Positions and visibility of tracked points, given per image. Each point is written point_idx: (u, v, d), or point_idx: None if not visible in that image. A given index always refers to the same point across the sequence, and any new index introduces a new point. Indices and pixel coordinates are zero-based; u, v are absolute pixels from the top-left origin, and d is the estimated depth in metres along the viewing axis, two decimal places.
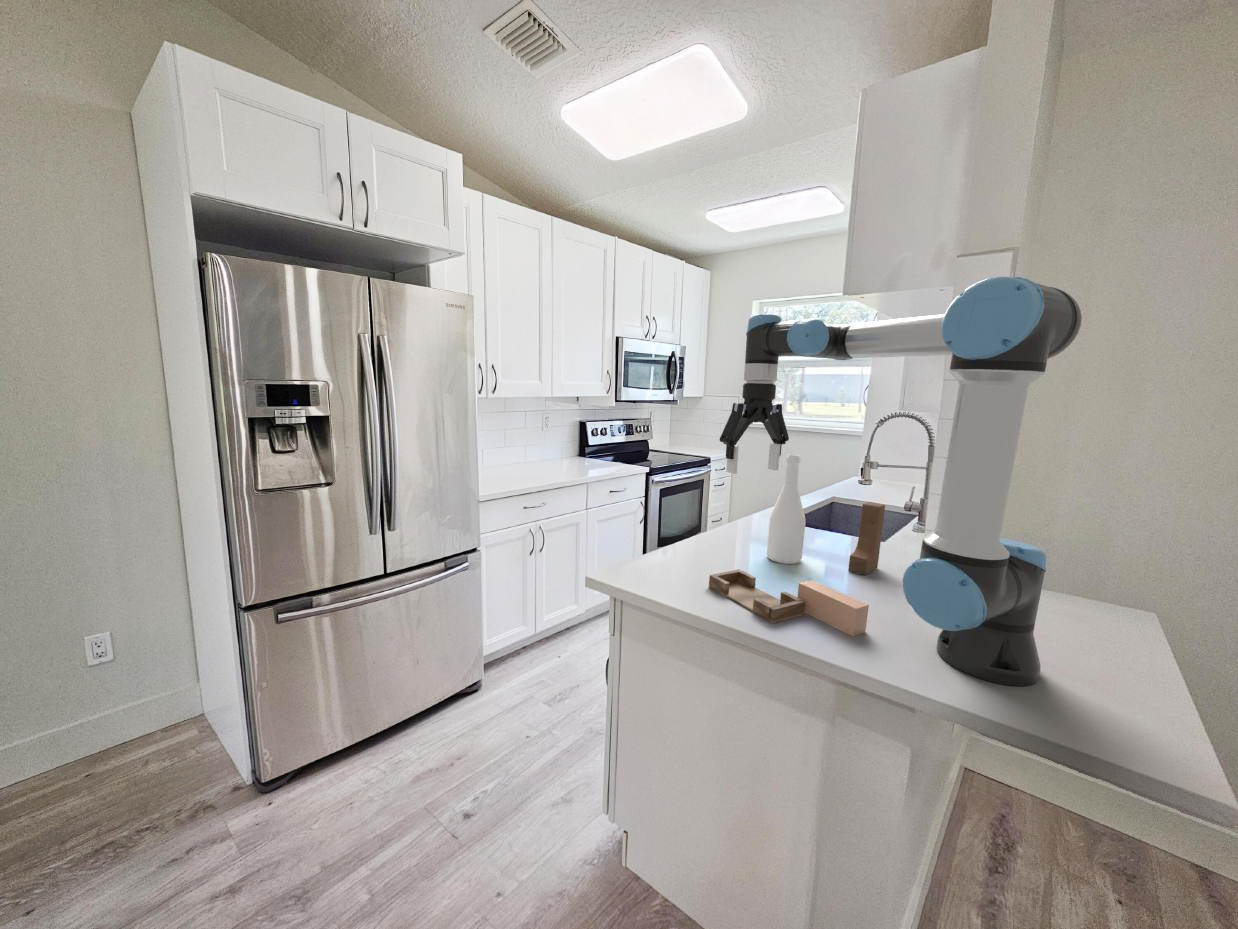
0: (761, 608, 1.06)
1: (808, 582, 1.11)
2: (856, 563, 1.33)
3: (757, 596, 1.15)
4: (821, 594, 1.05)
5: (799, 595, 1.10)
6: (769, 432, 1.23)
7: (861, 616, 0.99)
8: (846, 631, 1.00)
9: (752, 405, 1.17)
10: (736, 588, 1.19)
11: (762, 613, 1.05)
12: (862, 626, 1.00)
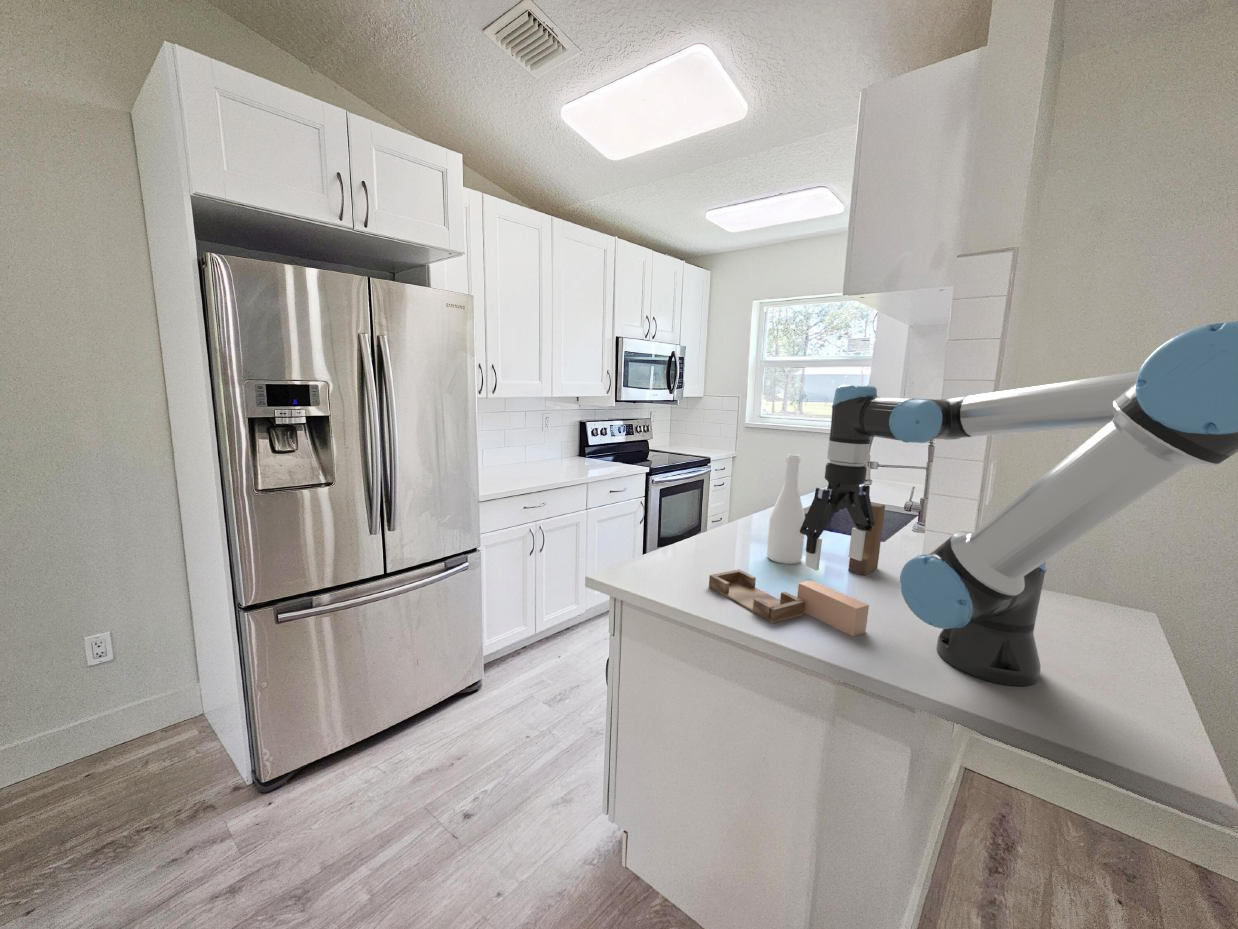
0: (761, 608, 1.06)
1: (808, 582, 1.11)
2: (856, 563, 1.33)
3: (757, 596, 1.15)
4: (821, 594, 1.05)
5: (799, 595, 1.10)
6: (853, 516, 1.06)
7: (861, 616, 1.00)
8: (846, 631, 1.00)
9: (838, 490, 0.99)
10: (736, 588, 1.19)
11: (762, 613, 1.05)
12: (862, 626, 1.00)
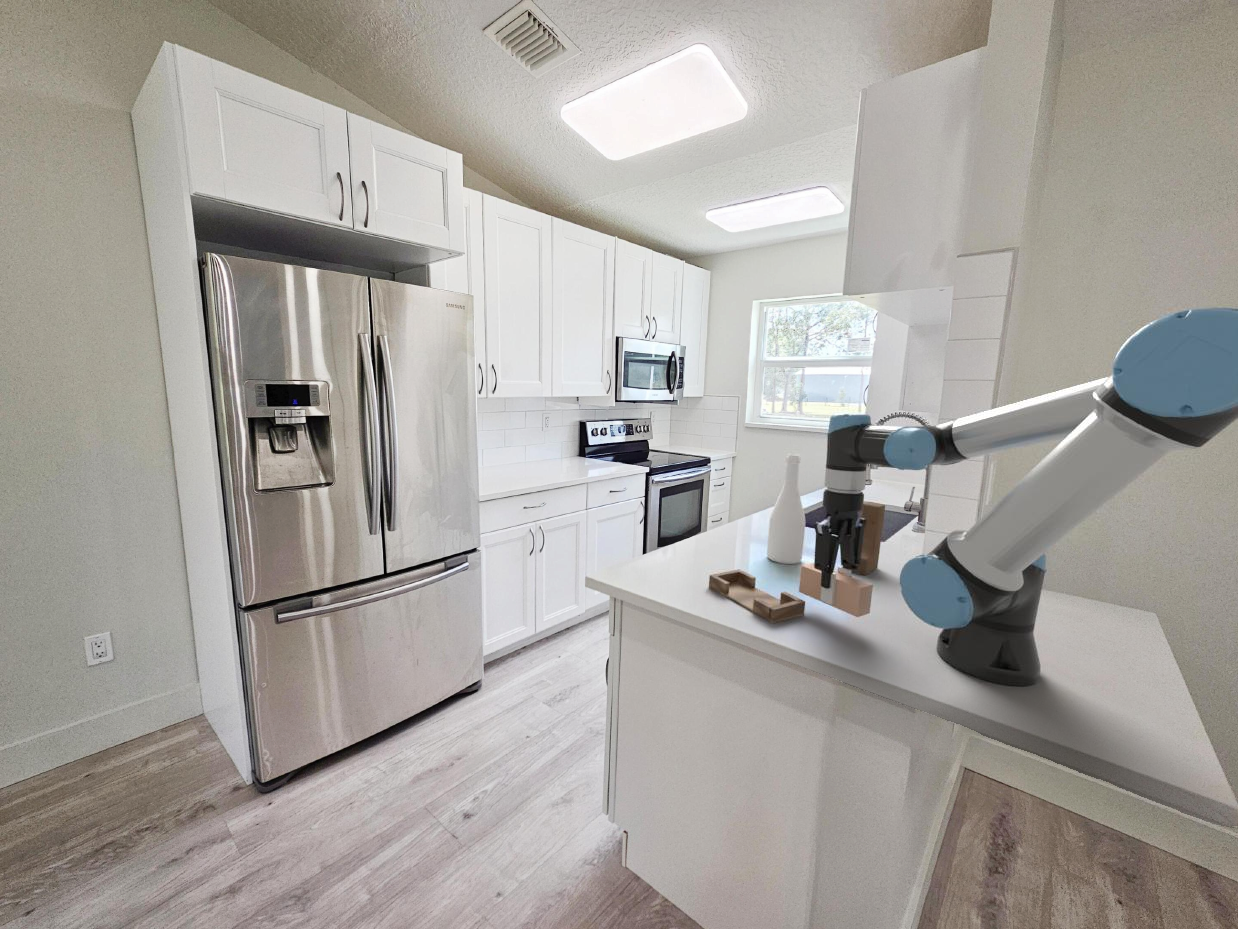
0: (761, 608, 1.06)
1: (810, 565, 1.10)
2: None
3: (757, 596, 1.15)
4: None
5: (801, 578, 1.09)
6: (842, 550, 1.05)
7: (865, 596, 0.99)
8: (851, 611, 0.99)
9: (836, 517, 1.00)
10: (736, 588, 1.19)
11: (762, 613, 1.05)
12: (866, 606, 0.99)
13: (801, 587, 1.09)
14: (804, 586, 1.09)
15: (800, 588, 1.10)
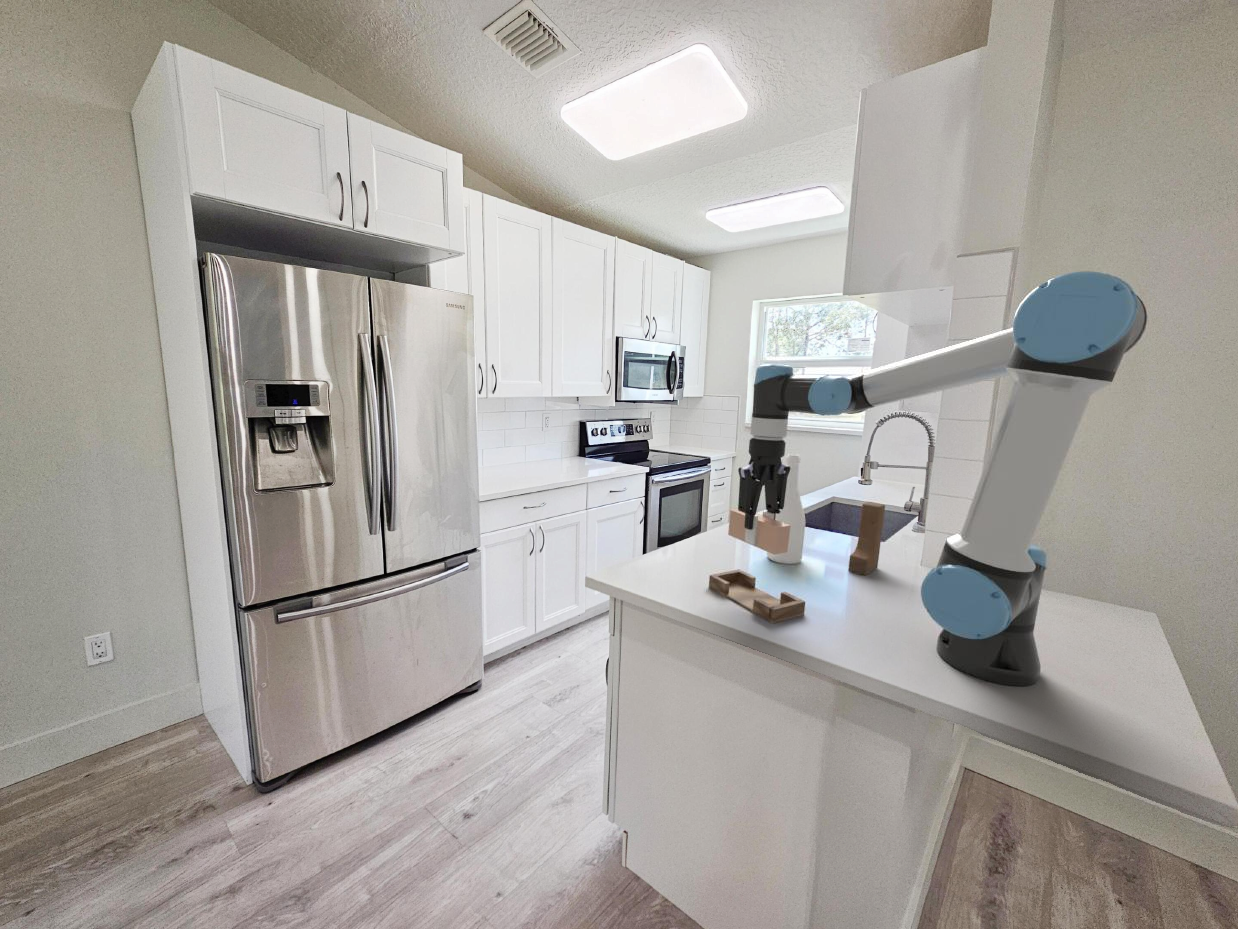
0: (761, 608, 1.06)
1: None
2: (856, 563, 1.33)
3: (757, 596, 1.15)
4: None
5: (730, 521, 1.16)
6: (767, 495, 1.12)
7: (783, 535, 1.06)
8: (769, 550, 1.07)
9: (758, 463, 1.07)
10: (736, 588, 1.19)
11: (762, 613, 1.05)
12: (784, 545, 1.07)
13: (730, 530, 1.17)
14: (732, 529, 1.16)
15: (729, 531, 1.17)
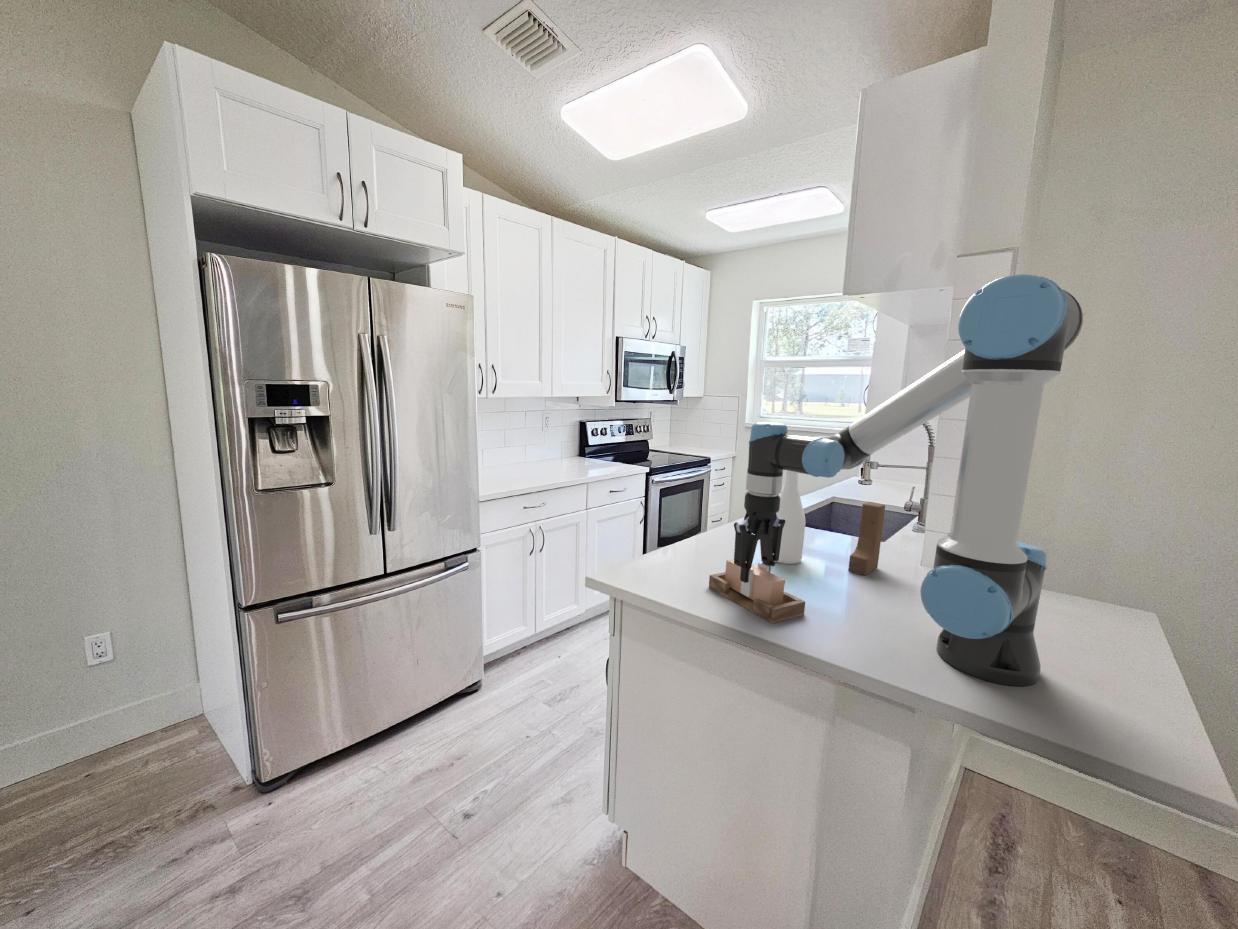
0: (761, 608, 1.06)
1: None
2: (856, 563, 1.33)
3: None
4: None
5: (726, 571, 1.18)
6: (762, 548, 1.14)
7: (777, 590, 1.08)
8: None
9: (754, 518, 1.09)
10: None
11: (762, 613, 1.05)
12: (779, 599, 1.09)
13: (726, 579, 1.19)
14: (728, 579, 1.18)
15: None
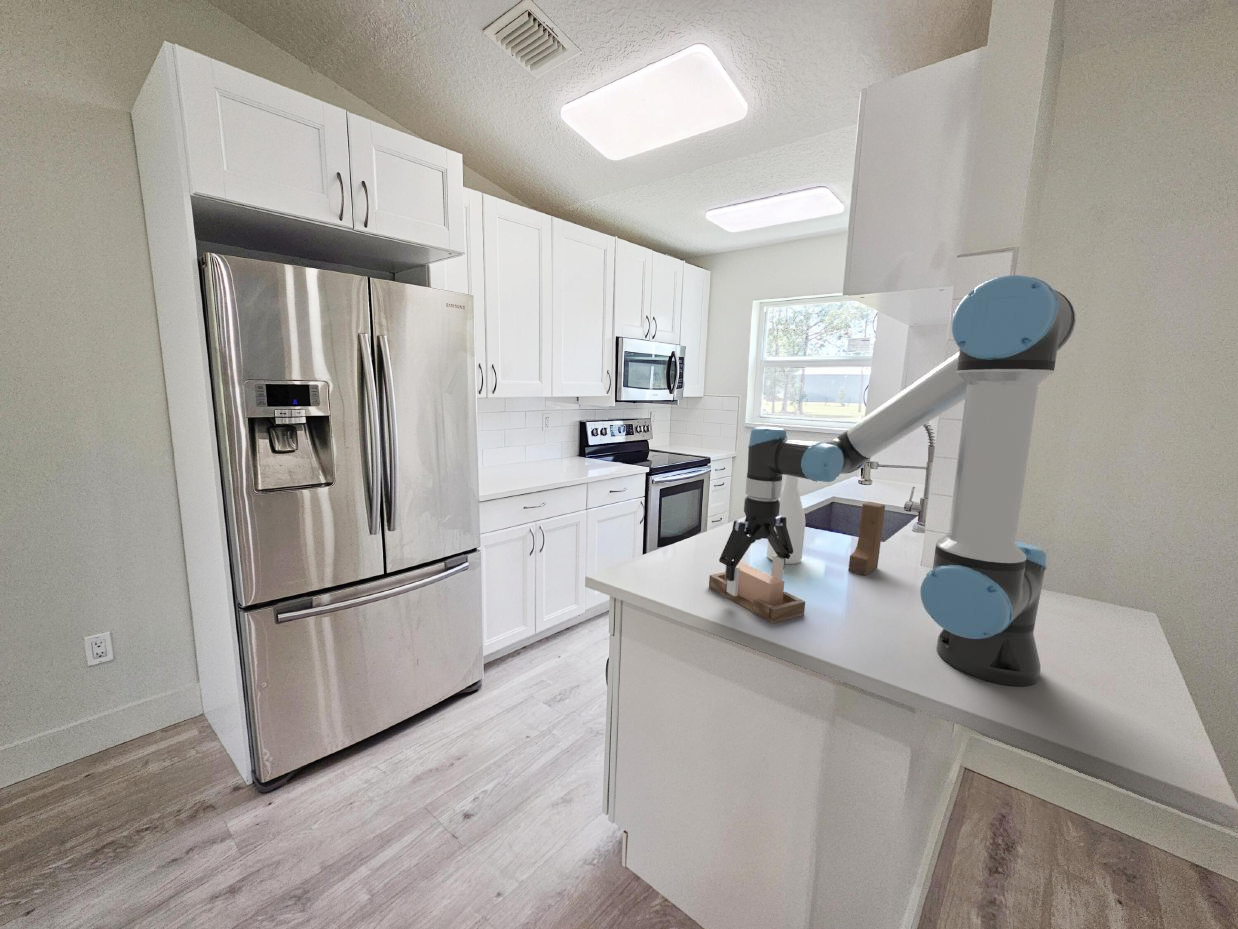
0: (761, 608, 1.06)
1: None
2: (856, 563, 1.33)
3: None
4: (744, 573, 1.14)
5: None
6: (772, 545, 1.15)
7: (777, 591, 1.08)
8: None
9: (754, 523, 1.09)
10: None
11: (762, 613, 1.05)
12: (778, 601, 1.09)
13: None
14: None
15: None
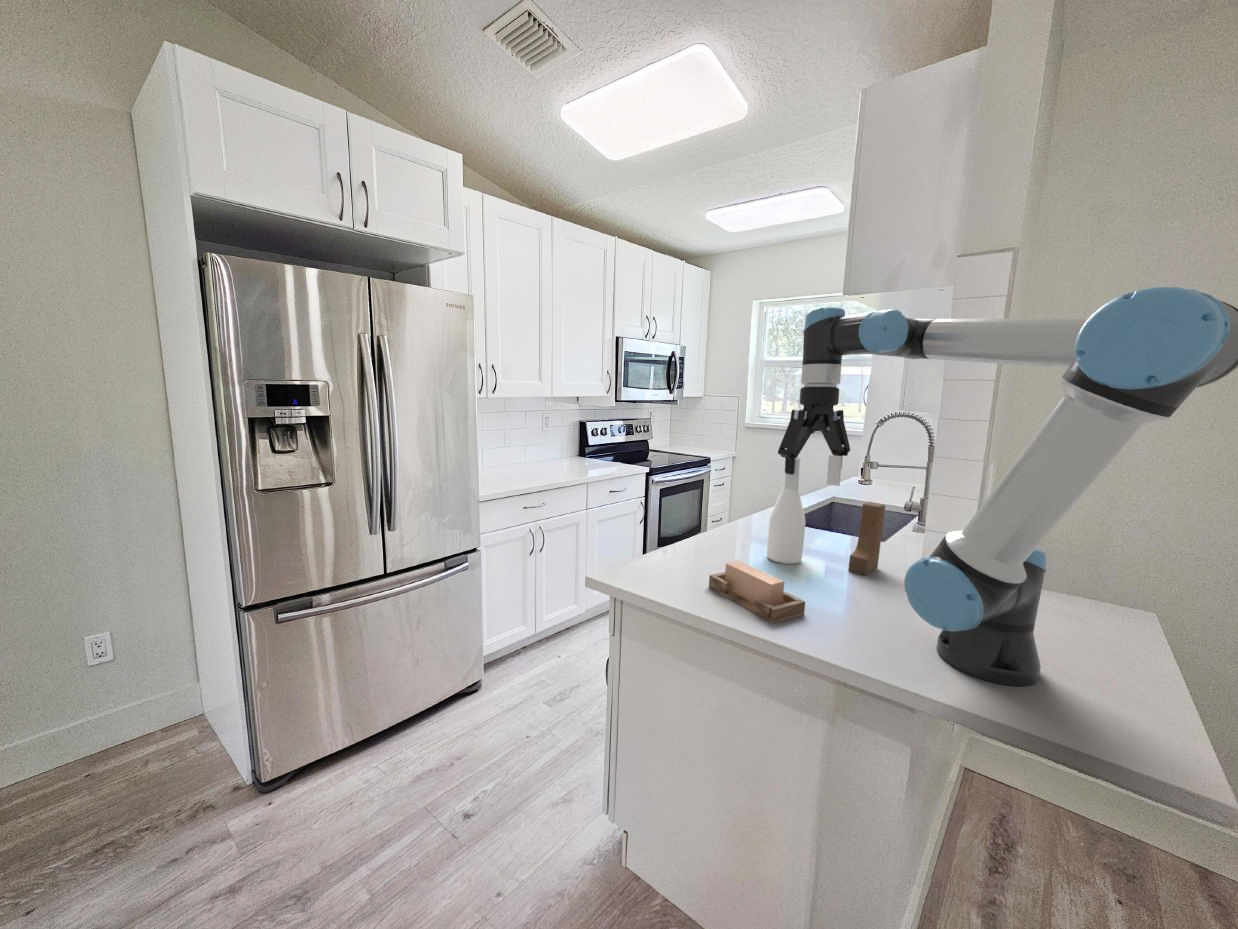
0: (761, 608, 1.06)
1: (735, 562, 1.19)
2: (856, 563, 1.33)
3: None
4: (744, 573, 1.14)
5: (726, 575, 1.19)
6: (829, 442, 1.08)
7: (777, 591, 1.08)
8: None
9: (813, 412, 1.02)
10: None
11: (762, 613, 1.05)
12: (778, 601, 1.09)
13: None
14: None
15: None
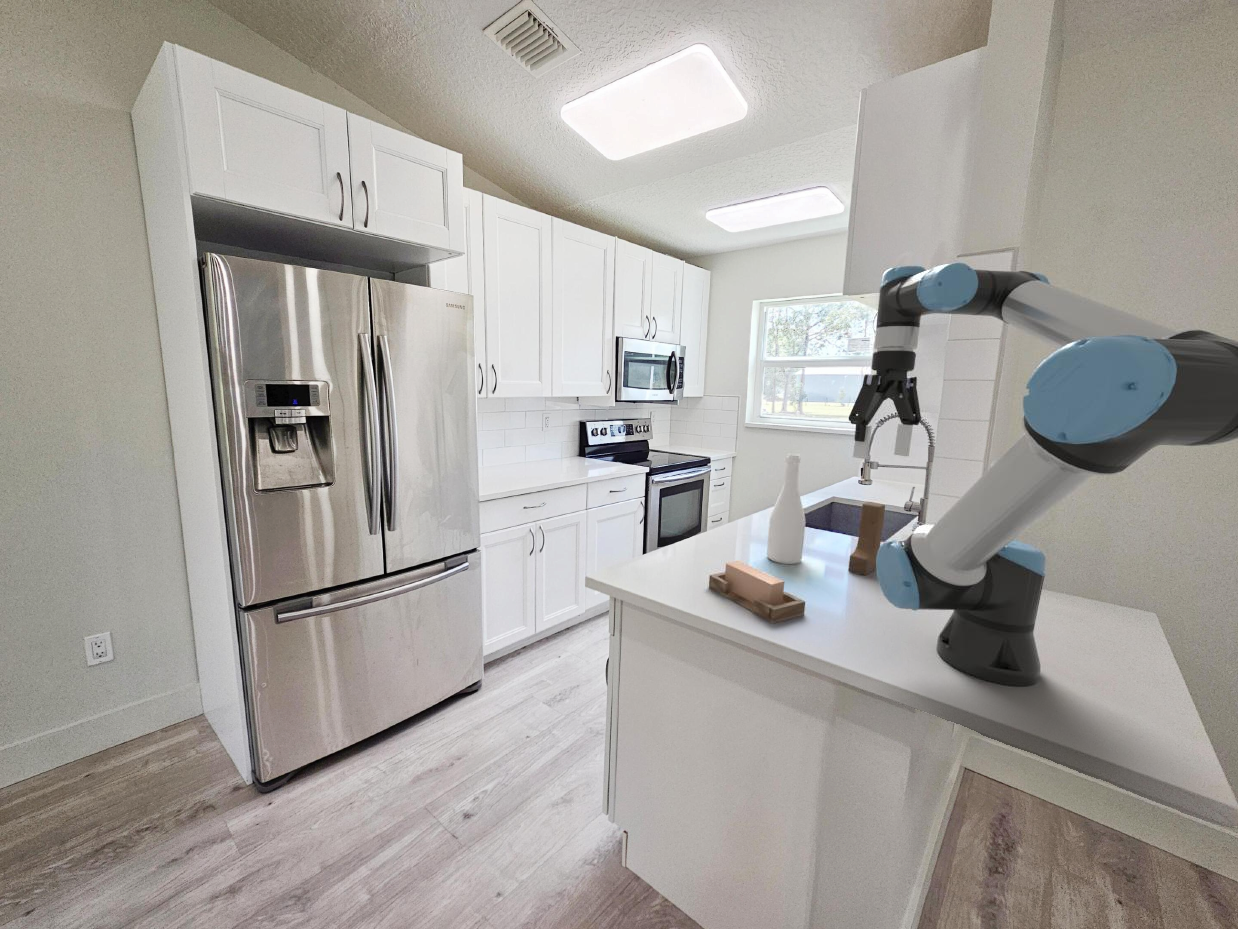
0: (761, 608, 1.06)
1: (735, 562, 1.19)
2: (856, 563, 1.33)
3: None
4: (744, 573, 1.14)
5: (726, 575, 1.19)
6: (899, 411, 1.04)
7: (777, 591, 1.08)
8: None
9: (887, 377, 0.98)
10: None
11: (762, 613, 1.05)
12: (778, 601, 1.09)
13: None
14: None
15: None
